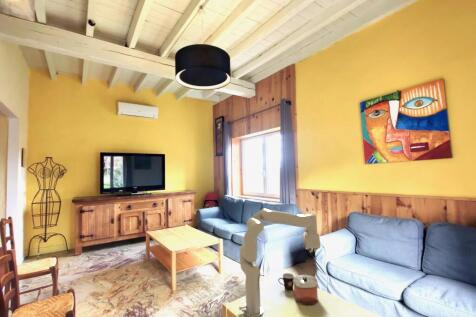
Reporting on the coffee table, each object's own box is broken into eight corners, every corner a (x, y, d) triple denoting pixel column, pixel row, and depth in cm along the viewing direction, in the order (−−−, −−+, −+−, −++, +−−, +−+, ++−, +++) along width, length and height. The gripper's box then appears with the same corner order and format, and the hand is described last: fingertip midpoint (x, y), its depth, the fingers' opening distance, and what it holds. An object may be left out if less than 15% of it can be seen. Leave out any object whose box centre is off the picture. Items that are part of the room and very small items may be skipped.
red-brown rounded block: (300, 306, 161) (299, 290, 161) (291, 294, 177) (290, 279, 177) (322, 303, 163) (321, 287, 164) (311, 291, 179) (310, 277, 180)
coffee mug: (295, 286, 188) (294, 273, 188) (293, 292, 180) (293, 278, 180) (280, 284, 192) (279, 272, 192) (278, 290, 184) (277, 277, 184)
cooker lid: (298, 290, 161) (298, 286, 161) (289, 278, 178) (289, 275, 178) (322, 286, 163) (321, 281, 164) (310, 275, 180) (310, 271, 180)
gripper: (304, 233, 168) (305, 259, 167) (323, 231, 170) (325, 257, 170) (299, 230, 175) (301, 256, 175) (318, 229, 178) (320, 254, 177)
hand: (312, 256), depth 172 cm, fingers closed
